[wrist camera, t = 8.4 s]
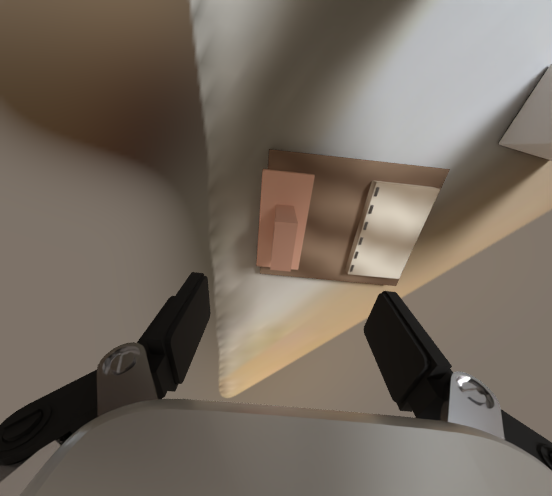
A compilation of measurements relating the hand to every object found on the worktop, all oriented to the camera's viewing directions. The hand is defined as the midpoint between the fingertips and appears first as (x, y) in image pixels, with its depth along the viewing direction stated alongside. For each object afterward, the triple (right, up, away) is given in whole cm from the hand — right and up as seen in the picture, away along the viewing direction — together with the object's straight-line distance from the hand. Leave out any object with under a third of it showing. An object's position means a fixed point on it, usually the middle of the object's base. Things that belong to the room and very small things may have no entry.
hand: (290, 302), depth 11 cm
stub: (0, +6, +14) cm, 15 cm away
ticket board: (+8, +6, +16) cm, 18 cm away
